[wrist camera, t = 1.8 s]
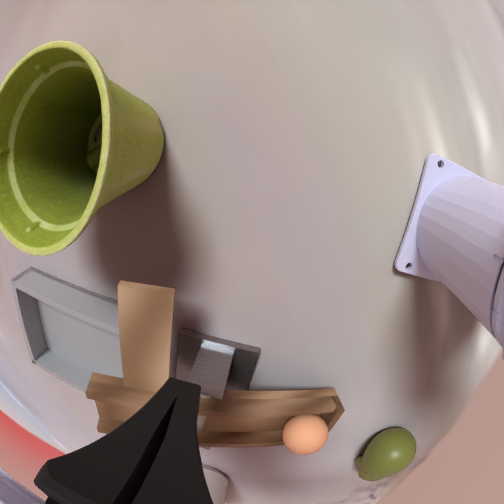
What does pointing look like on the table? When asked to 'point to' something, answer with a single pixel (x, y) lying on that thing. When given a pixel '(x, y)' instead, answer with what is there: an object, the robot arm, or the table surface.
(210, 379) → the fulcrum
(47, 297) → the tray
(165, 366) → the plank
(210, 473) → the can
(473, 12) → the table surface
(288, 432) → the ball
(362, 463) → the pear
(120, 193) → the plant pot
